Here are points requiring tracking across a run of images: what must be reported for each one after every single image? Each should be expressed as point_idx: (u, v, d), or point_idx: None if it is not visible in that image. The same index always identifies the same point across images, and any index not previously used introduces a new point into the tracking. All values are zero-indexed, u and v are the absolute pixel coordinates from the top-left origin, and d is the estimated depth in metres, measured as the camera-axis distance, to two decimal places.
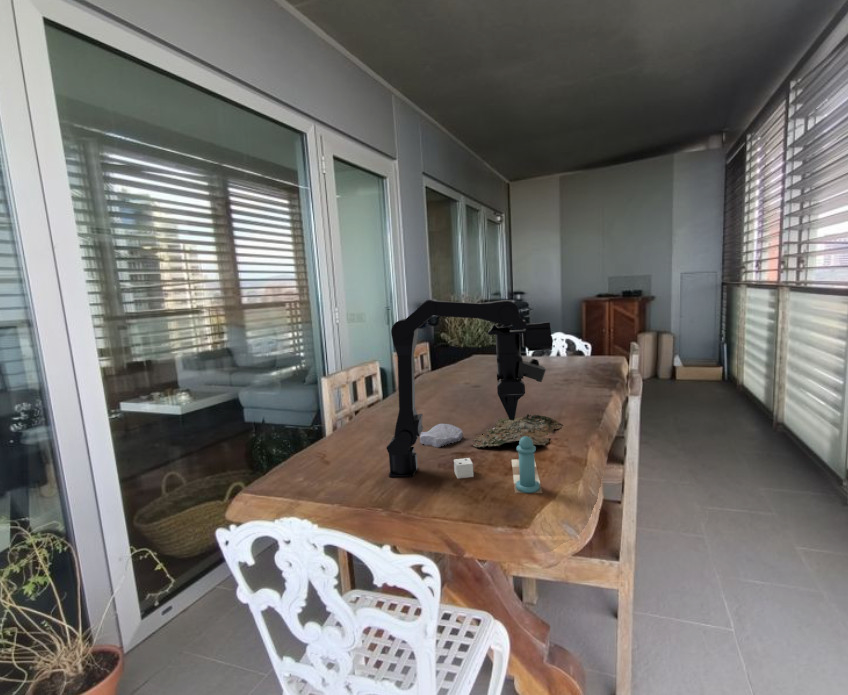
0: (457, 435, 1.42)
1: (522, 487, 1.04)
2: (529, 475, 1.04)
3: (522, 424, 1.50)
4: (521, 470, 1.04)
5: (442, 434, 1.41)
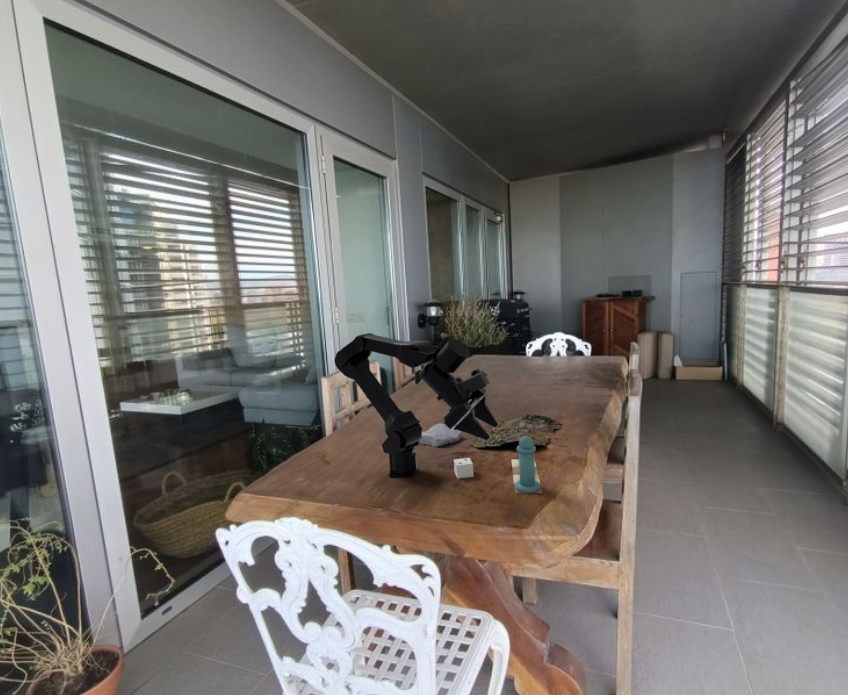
0: (456, 435, 1.42)
1: (522, 487, 1.04)
2: (529, 475, 1.04)
3: (522, 424, 1.50)
4: (521, 470, 1.04)
5: (441, 434, 1.41)
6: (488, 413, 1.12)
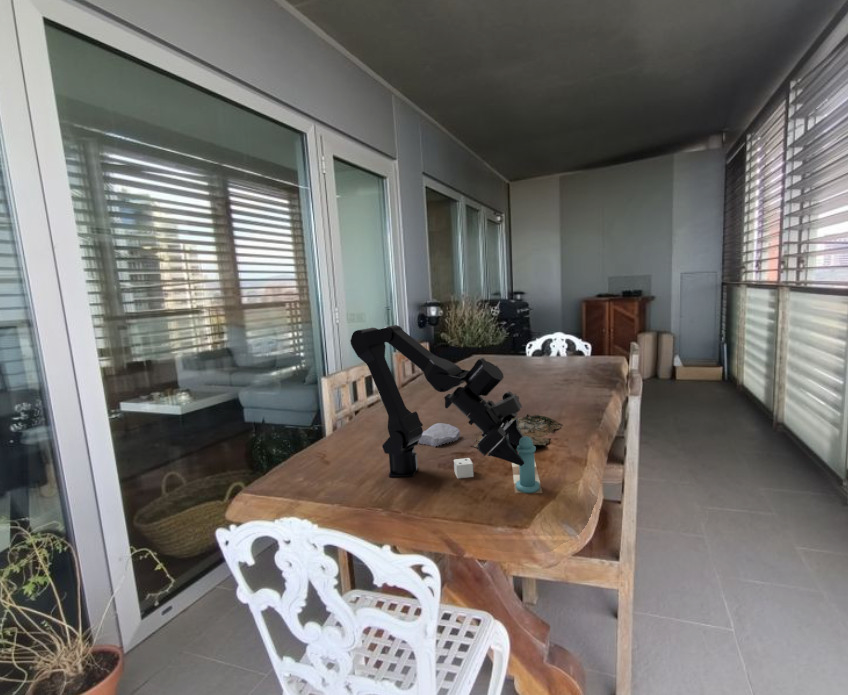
0: (454, 434, 1.43)
1: (522, 487, 1.04)
2: (529, 475, 1.04)
3: (522, 424, 1.50)
4: (521, 470, 1.04)
5: (439, 433, 1.42)
6: (520, 436, 1.10)
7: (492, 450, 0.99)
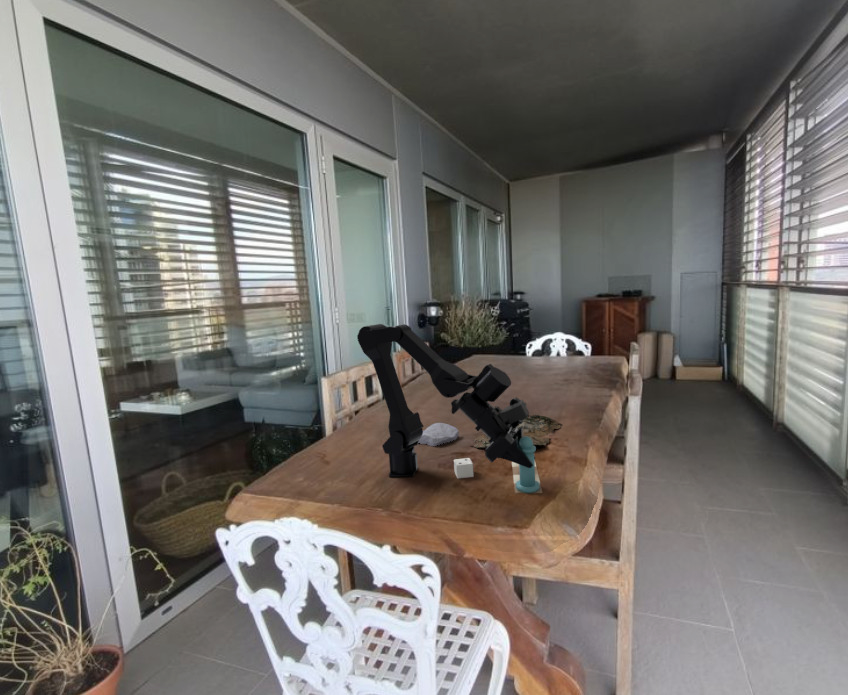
0: (453, 434, 1.43)
1: (522, 487, 1.04)
2: (529, 475, 1.04)
3: (522, 424, 1.50)
4: (521, 470, 1.04)
5: (438, 433, 1.42)
6: None
7: (502, 452, 1.01)
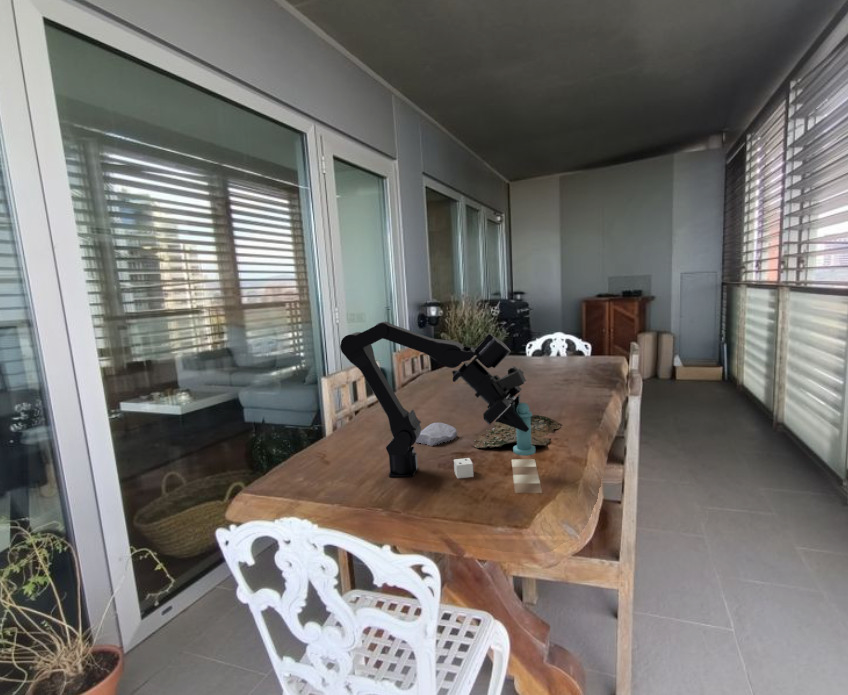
0: (451, 434, 1.44)
1: (519, 450, 1.10)
2: (525, 439, 1.10)
3: None
4: (518, 434, 1.11)
5: (436, 433, 1.43)
6: None
7: (499, 416, 1.08)
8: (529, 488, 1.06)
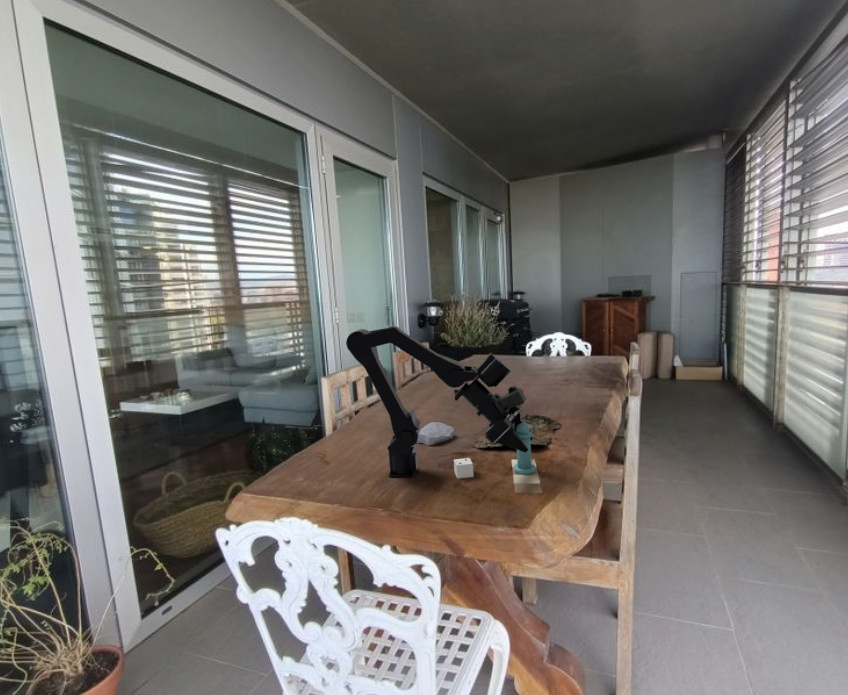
0: (449, 433, 1.44)
1: (519, 470, 1.14)
2: (526, 458, 1.14)
3: None
4: (518, 454, 1.14)
5: (434, 432, 1.43)
6: None
7: (499, 438, 1.09)
8: (529, 488, 1.06)
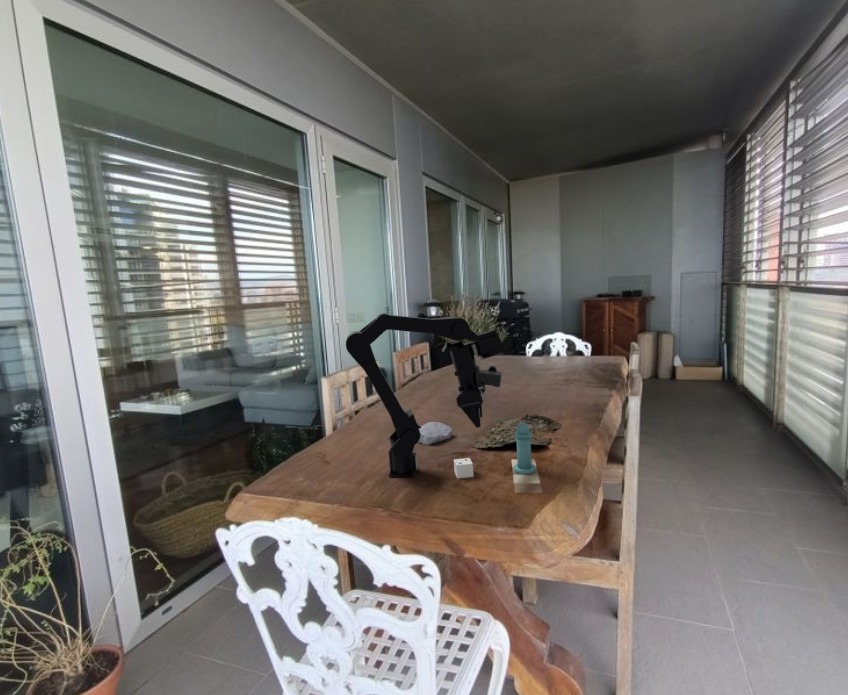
0: (447, 433, 1.45)
1: (519, 470, 1.14)
2: (526, 458, 1.14)
3: None
4: (518, 454, 1.14)
5: (432, 432, 1.44)
6: None
7: (466, 405, 1.14)
8: (529, 488, 1.06)
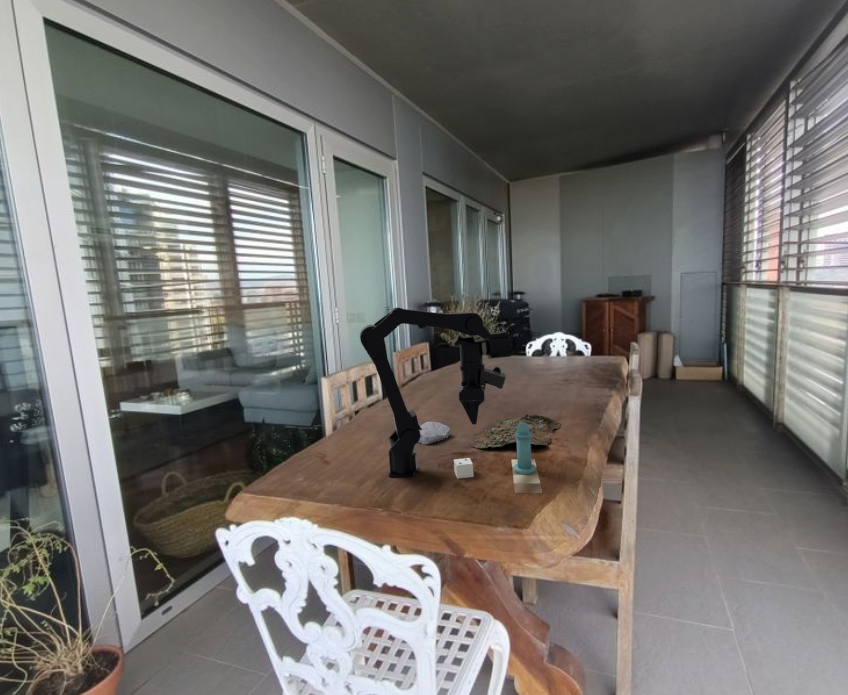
0: (445, 433, 1.45)
1: (519, 470, 1.14)
2: (526, 458, 1.14)
3: None
4: (518, 454, 1.14)
5: (430, 432, 1.44)
6: None
7: (467, 401, 1.14)
8: (529, 488, 1.06)
